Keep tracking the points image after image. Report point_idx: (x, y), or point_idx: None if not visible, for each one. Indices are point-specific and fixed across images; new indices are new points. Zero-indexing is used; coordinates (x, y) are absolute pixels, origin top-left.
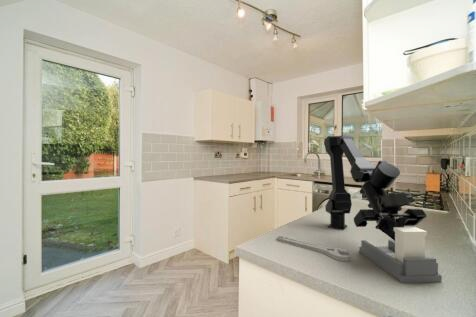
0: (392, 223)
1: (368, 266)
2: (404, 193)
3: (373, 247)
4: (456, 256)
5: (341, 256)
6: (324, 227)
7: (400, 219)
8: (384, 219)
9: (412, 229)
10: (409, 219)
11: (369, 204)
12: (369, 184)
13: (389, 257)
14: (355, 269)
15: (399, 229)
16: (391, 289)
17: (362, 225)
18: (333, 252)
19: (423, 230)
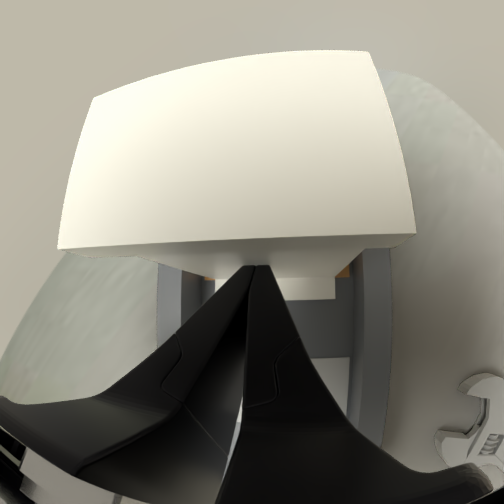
0: (292, 441)
1: (420, 330)
2: None
3: (380, 412)
4: (26, 361)
5: (499, 380)
6: None
7: (88, 444)
8: (478, 469)
9: (171, 132)
10: (5, 451)
11: None
12: None
13: (382, 258)
14: (480, 297)
15: (379, 122)
16: (419, 152)
17: (492, 495)
18: (502, 417)
19: (90, 121)
